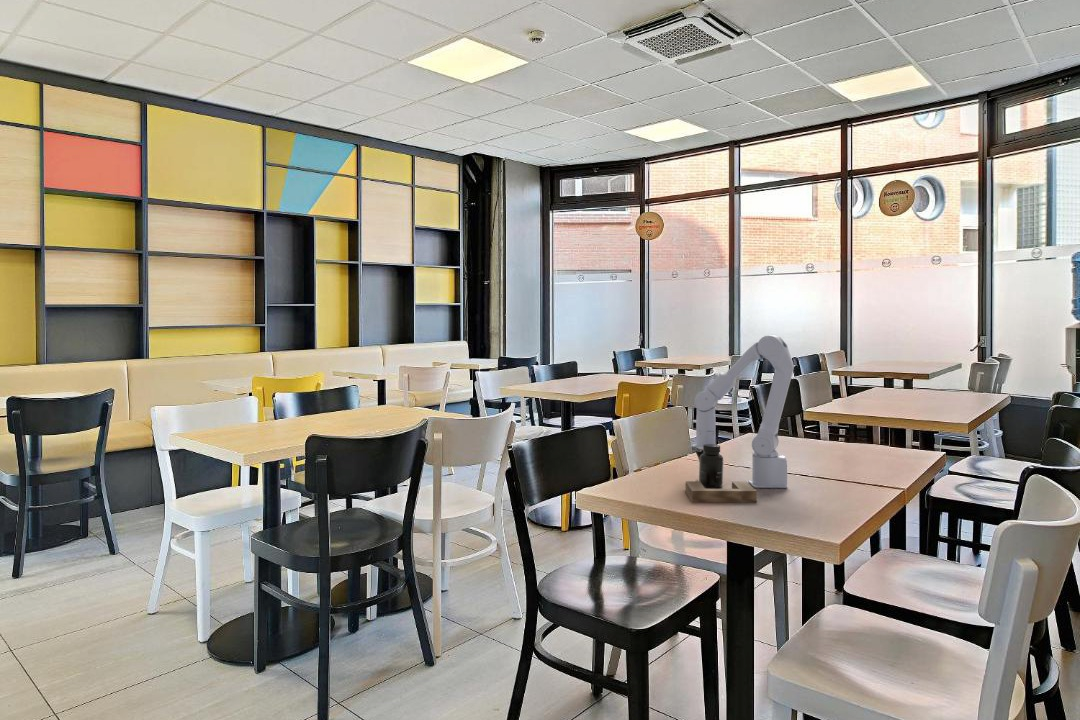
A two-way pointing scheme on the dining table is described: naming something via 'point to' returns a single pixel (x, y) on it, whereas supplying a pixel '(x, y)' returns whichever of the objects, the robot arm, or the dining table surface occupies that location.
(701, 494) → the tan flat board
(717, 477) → the supplement bottle
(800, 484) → the dining table surface
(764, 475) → the robot arm
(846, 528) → the dining table surface
